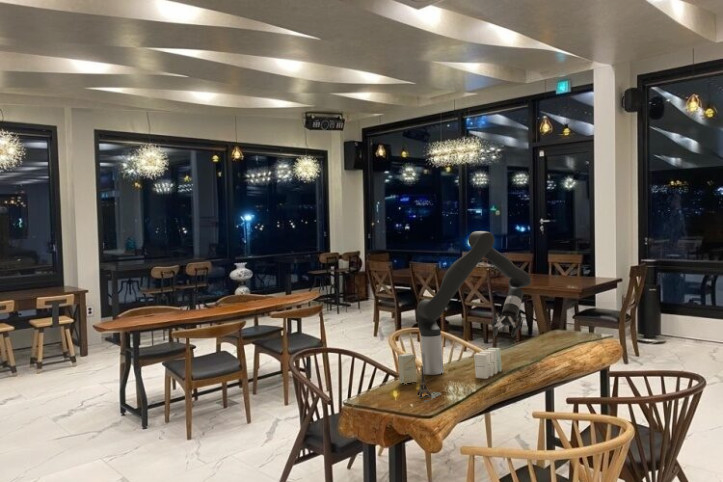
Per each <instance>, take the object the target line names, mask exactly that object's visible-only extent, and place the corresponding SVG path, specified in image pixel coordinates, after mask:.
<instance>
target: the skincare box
mask: <svg viewBox="0 0 723 482" xmlns="http://www.w3.org/2000/svg"><path fill="white" fill-rule="evenodd" d="M397 357H398V358H397V359H398V374H399V383H400V382H401V383H400V384H402V383H404V384H403V385H405V384H406V385H408V384H407V383H411V382H416V383H417V382H418V381H417V379H418V378H417V367H416V365H417V364H416V354H415V353H411V352H410V353H404V354H403V353H402V354H398V355H397Z"/></svg>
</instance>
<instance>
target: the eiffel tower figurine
mask: <svg viewBox="0 0 723 482" xmlns="http://www.w3.org/2000/svg"><path fill="white" fill-rule="evenodd" d="M420 368H421V382H420V383H421V384H420V387H419V390H418V391H417V393H416V394H417V395H419V394H420V396H419V397H418V399H423V398H424V399H425V398H431V399H425V400H423V401H422V402H423V403H427V402H430V401H432V400H434V399H435V398H437V397H440V396H441V395H442V393H441V392H438V391H431V392H429V391H428V390H429V388H428V387H427V385H426V381H425V380H426V379H425V376H424V375H425V374H424V373H423V365H421V366H420ZM425 393H427V394H428V395H425V396H424V397H422V394H425ZM417 395H416V396H417Z"/></svg>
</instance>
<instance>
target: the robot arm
mask: <svg viewBox="0 0 723 482" xmlns="http://www.w3.org/2000/svg"><path fill="white" fill-rule="evenodd" d="M467 240H468V242H467V243H468V245H469V246H470V248H471V249H470V250H469V251H468V252H467V253H466V254H465V255H463V256H461V257H460V258H458V259H457V260H455V262H453V263H452V264H451V265H450V267H449V268H448V269H447V271H446V272H445V273H444V275H443V278H442V281H441V284H440V287H439V289H438V291H437V292H436V293H435V294H434V295H433V297H431V299H422V300H420V301H419V302H418V304H417V306H416V317H417V319H416V320H417V327H418V330H419V332H420V333H419V334H420V344H421V347H420V348H421V359H422V360H421V361H422V363H421V364H422V366H423V373H424V375H427V376H428V375H429V376H434V375H441V373H442V374H444V372H445V371H444V361H443V360H444V357H443V346H442V345H443V343H442V333H441V332H442V331H441V328H440V326H439V325H438V323H437V320H438V319H440V318H441V316H442V314H443V313H444V311H445V310H446V308H447V306H448V305H449V303H450V302H451V300H452V299H453V297H454V296H455V295H456V293H457V292H458V291H459V289H460V288H461V287H462V286H463V285H464V283H465V282H466V280H467V279H468V277H469V276H470V275H471V273H472V272H473V271H474V270H475V268H476V267H477V265H478V264H479V263H480V262H481V260H482V259H483V258H484V259H486V260H488V261H489V262H490V263H491V264H493V266H494V267H496V269H497V270H499V272H500V273H501V274H502V275H503V276H505V277H506V278H508V293H507V297H506V299H505V301H504V304H503V307H502V310H501V315H500V316H497V315H496V314H495V315H494V316H493V318H492V320H491V327H492V328H493V329H492V330H493V331H492V333H493V335H494V337H497V336H498V333H499V329H501V328H503V327H507V326H508V327H511V326H512V329H511V332H510V335H511V337H513V338H514V337H515V336H516V335H517V331H518V330H522V329H523V325H524V324H523V323H524V318H523V316H522V315H520V316H519V313H520V310H521V306H522V300H523V297H524V291H523V289H521V288H525V287H528V286H530V285H531V281H532V279H531V276H530V275H529V273H528V272H526V271H525V270H524V269H522V268H520V267H518V266H516V265H515V264H514V263H513V262H512V260H511V259H509V258H508V257H507V256H505V255H503V253H502V252H499V251H497V250H496V249H495V248H494V247H493V246H494V244H495V237H494V235H493V233H491V232H489V231H483V230H480V231H479V230H478V231H477V230H476V231H473V232H471V233H470V234H469V236H468V239H467ZM516 322H517V325H516V324H515V323H516Z"/></svg>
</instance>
